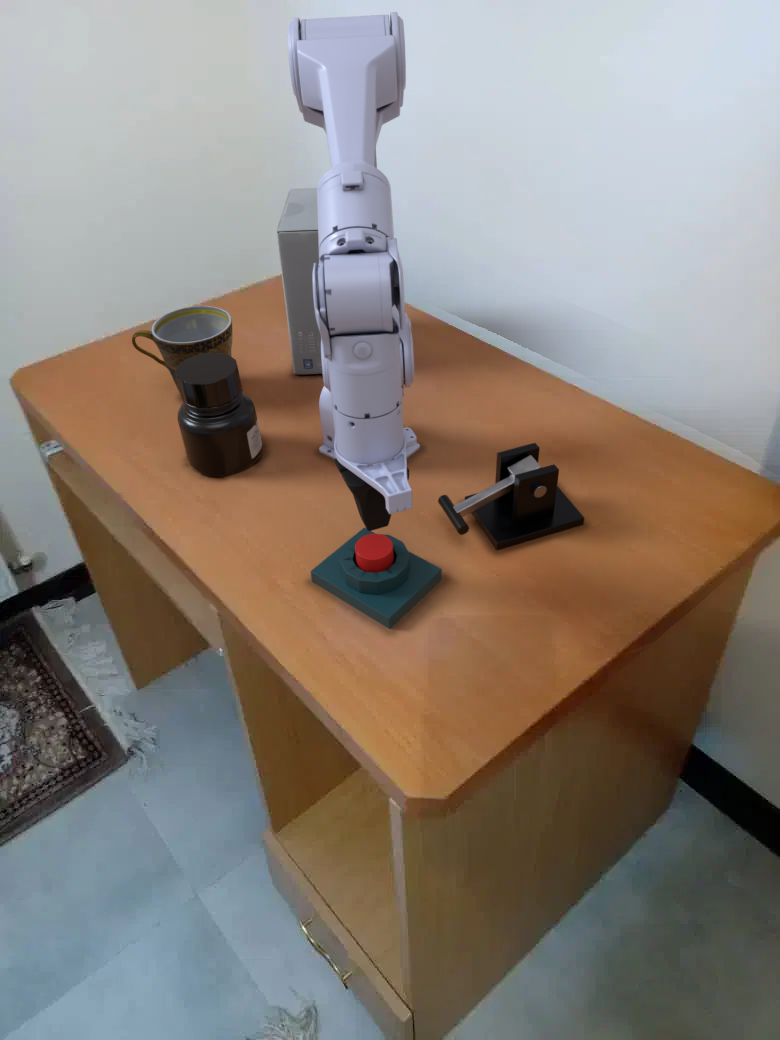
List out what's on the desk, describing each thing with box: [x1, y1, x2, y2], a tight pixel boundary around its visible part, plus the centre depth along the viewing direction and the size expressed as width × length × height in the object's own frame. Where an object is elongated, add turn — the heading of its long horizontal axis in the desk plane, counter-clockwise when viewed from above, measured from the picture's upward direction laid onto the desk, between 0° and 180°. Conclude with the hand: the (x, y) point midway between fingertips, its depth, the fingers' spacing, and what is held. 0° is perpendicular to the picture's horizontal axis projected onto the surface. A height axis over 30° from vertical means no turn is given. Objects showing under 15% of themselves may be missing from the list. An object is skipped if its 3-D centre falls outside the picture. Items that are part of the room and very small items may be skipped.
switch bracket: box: [464, 442, 585, 551], centre depth 82 cm, size 10×8×7 cm
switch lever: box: [437, 455, 542, 536], centre depth 81 cm, size 10×5×2 cm, turn 109°
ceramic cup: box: [131, 305, 233, 396], centre depth 102 cm, size 13×10×10 cm
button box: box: [310, 527, 443, 630], centre depth 77 cm, size 10×8×4 cm
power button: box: [355, 533, 394, 573], centre depth 75 cm, size 4×4×2 cm
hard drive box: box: [276, 187, 323, 376], centre depth 107 cm, size 16×8×20 cm, turn 179°
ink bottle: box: [175, 353, 263, 477], centre depth 91 cm, size 10×9×12 cm
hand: (375, 524), depth 73 cm, fingers closed
